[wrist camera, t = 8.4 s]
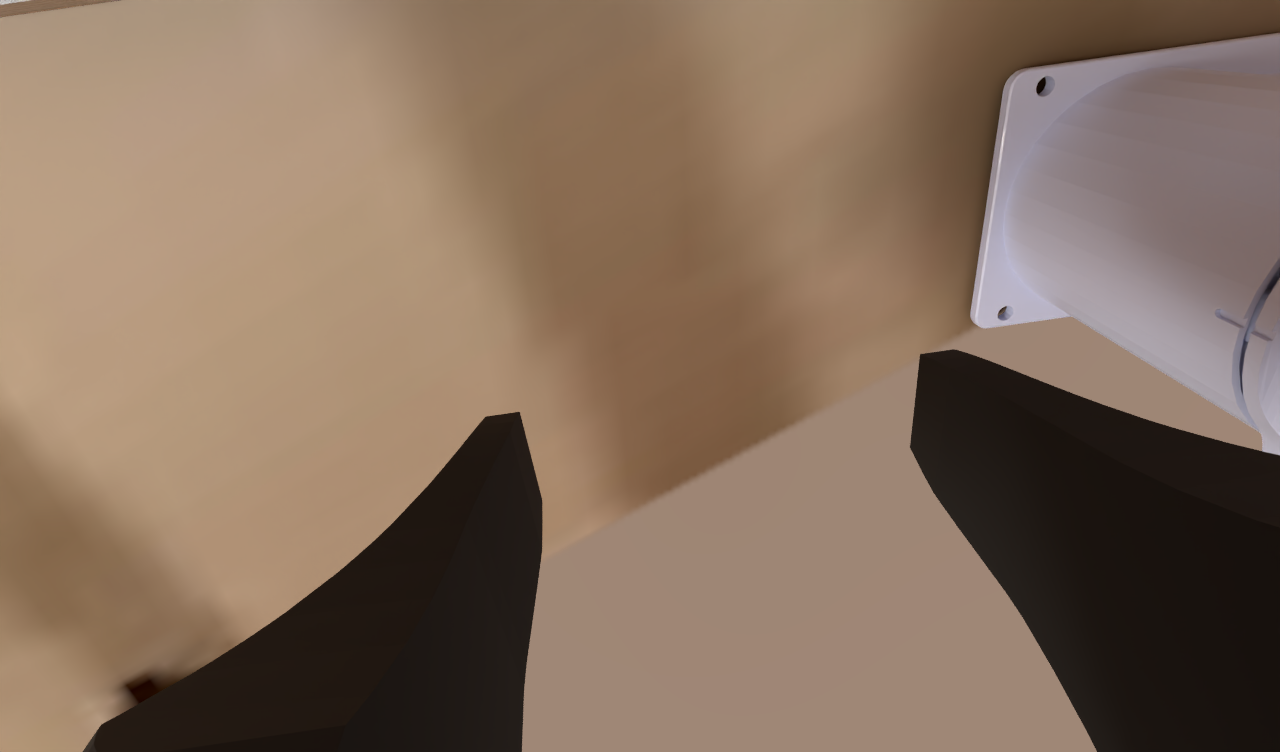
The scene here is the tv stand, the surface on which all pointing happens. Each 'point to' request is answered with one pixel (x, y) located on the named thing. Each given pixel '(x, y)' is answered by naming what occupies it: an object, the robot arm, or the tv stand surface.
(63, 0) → the grey rectangular holder
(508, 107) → the tv stand surface
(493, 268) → the tv stand surface
